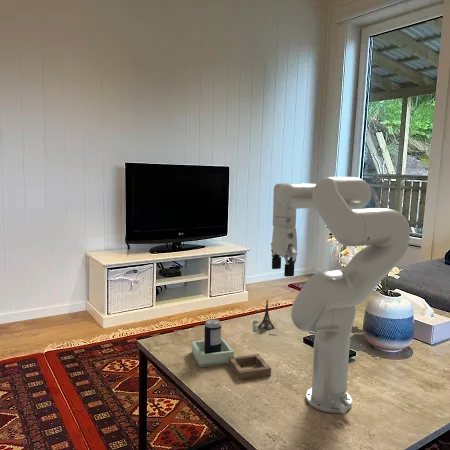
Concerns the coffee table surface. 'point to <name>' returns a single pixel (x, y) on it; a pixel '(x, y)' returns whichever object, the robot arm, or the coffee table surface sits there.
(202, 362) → the tray
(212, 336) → the beverage can
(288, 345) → the coffee table surface
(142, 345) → the coffee table surface
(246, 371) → the socket block
